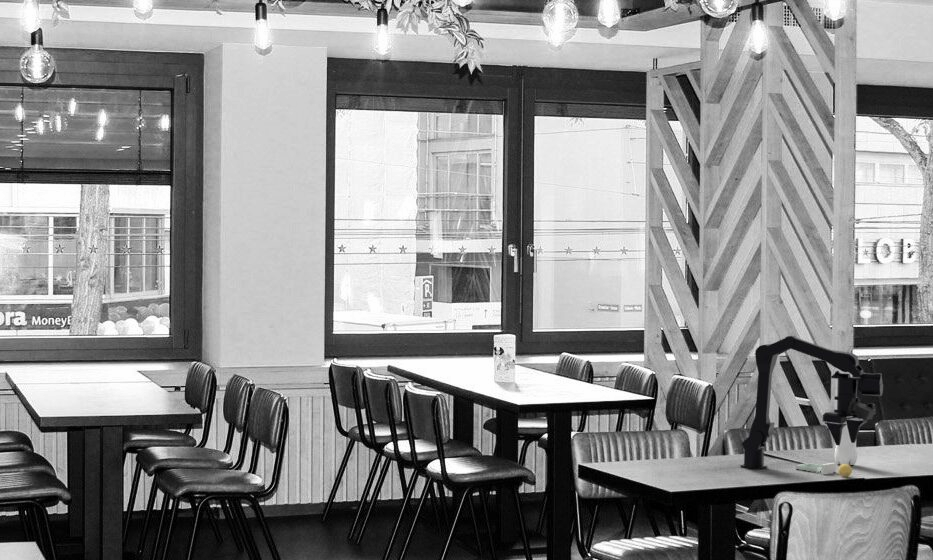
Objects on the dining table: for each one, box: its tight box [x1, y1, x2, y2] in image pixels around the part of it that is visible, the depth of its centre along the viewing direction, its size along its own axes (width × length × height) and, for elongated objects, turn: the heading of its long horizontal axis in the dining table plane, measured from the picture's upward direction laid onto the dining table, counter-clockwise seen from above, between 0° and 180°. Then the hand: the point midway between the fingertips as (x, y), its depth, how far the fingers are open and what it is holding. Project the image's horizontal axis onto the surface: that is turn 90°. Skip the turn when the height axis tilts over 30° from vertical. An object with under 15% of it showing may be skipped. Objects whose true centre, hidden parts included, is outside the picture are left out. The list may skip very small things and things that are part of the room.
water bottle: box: [834, 422, 858, 466], centre depth 387 cm, size 7×7×25 cm
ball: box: [838, 464, 853, 478], centre depth 363 cm, size 4×4×4 cm
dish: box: [795, 462, 822, 473], centre depth 375 cm, size 8×8×1 cm
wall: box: [820, 462, 837, 475], centre depth 369 cm, size 7×1×3 cm, turn 133°
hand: (845, 443), depth 363 cm, fingers open, 9 cm apart
